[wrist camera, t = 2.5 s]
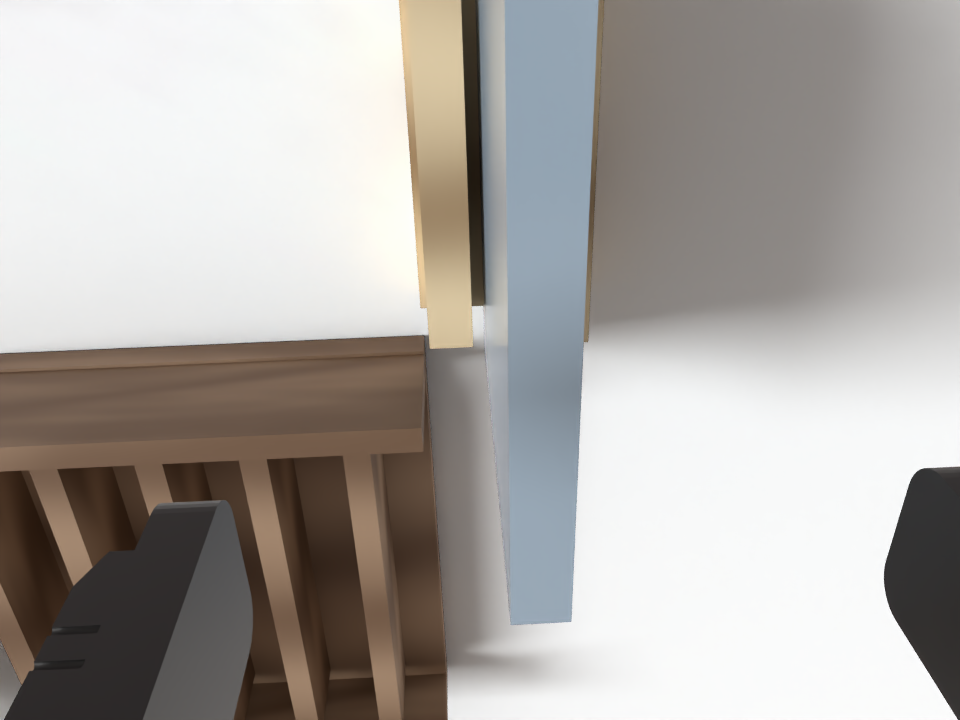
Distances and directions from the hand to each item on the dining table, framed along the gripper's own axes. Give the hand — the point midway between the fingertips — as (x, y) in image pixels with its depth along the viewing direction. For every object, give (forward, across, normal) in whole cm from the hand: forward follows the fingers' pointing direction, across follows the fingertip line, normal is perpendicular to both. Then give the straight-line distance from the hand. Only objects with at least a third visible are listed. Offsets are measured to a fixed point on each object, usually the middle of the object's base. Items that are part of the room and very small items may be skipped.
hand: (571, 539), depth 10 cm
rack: (+16, +10, +14) cm, 24 cm away
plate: (+15, 0, 0) cm, 15 cm away
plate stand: (+16, 0, 0) cm, 16 cm away
